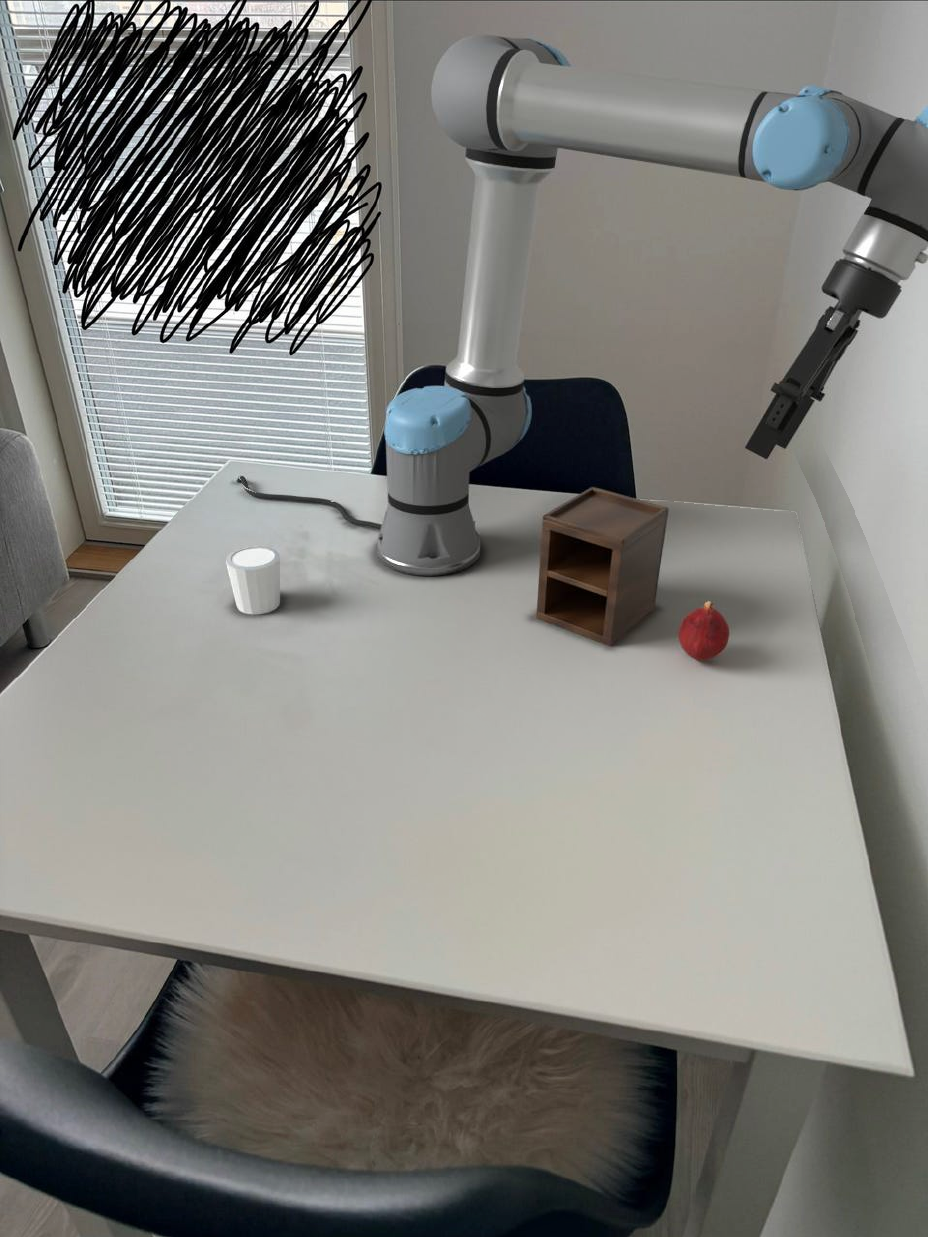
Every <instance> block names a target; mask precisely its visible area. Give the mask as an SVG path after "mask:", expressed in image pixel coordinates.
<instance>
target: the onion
mask: <svg viewBox="0 0 928 1237" xmlns="http://www.w3.org/2000/svg"><path fill="white" fill-rule="evenodd" d="M677 634H678V641H679V643H680V646H681V648H682V650H683V651H684V652H685V653H686V654H687V656H688V657H690V658H692V659H694V660H695V661H698V662H702V661H707V660H712V659H714V658H716V657H717V656H719V655H720V654H721V653H722V652H723V651H724V650H725V649H726V647H727V645H728V642H729V637H730V627H729V624H728V623H727V620H726V619H725V617H724V616H723V615H722V613H720V612H719V611H718V610H717V609H715V608H714V602H712V601H711V600H708V601H706V602H704V605H703V606H702V607H700V608H696V609H694V610H692V611H691V612H689V613H688V614H687V615H685V617H683V619H682V621H681V623H680V625H679V629H678V633H677Z"/></svg>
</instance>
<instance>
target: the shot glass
mask: <svg viewBox="0 0 928 1237" xmlns="http://www.w3.org/2000/svg"><path fill="white" fill-rule="evenodd" d="M225 564H226V568H227V572H228V576H229V580H230V584H231V589H232V593H233V597H234V601H235V605H236V608H237V610H238V611H239V612H241V613H243V614H247V615H252V616H253V615H263V614H268V613H270V612H273V611H274V610H276V609H277V608H278V607H279V606H280V603H281V554H280V553H279V552H278V550H277V549H274V548H272V547H271V546H270V547H268V546H262V545H254V546H246V547H240V548H238V549H236V550H233V551H232V552H230V553H229V554H227V555H226V559H225Z"/></svg>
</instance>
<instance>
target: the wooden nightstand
mask: <svg viewBox="0 0 928 1237" xmlns="http://www.w3.org/2000/svg"><path fill="white" fill-rule="evenodd" d="M669 509H670V507H667V506H663V505H660V504H656V503H653V502H648V501H646V500H642V499H638V498H635V497H631V496H627V495H624V494H620V493H616V492H613V491H609V490H606V489H603V488H598V487H595V486H591V487H589V488H588V489H586V490H584V491H583V492H581V493H579V494H577V495H576V496H574V497H572V498H571V499H569V500H567V501H565V502H564V503H562V504H560V505H559V506H557V507H555V508H554V509H552V510H550V511H549V512H547V513H545V514H543V515H542V525H541V540H540V555H539V556H540V558H539V569H538V571H539V572H538V587H537V599H536V600H537V602H536V614H535V615H536V617H535V618H536V619H537V620H540V621H543V622H545V623H548V624H550V625H554V626H556V627H559V628H561V629H564V630H566V631H569V632H571V633H574V634H577V635H579V636H582V637H585V638H588V639H590V640H593V641H595V642H598V643H601V644H603V645H606V646H609V647H612V645H614V644H615V643H616V642H617V641H618V640H619V639H621V638H622V637H623V636H624V635H625V634H627V633H628V632H629V631H630V630H631V629H632V628H633V627H634V626H636V625H637V624H638V623H639V622H641V621H642V620H643V619H644V618H645V617H647V615H649V614H650V613H651V612H652V611H653V610H655V605H656V600H657V599H656V598H657V594H658V593H657V592H658V585H659V579H660V578H659V577H660V571H661V565H662V558H663V551H664V550H663V549H664V544H665V536H666V530H667V523H668V517H669V516H668V515H669V511H670V510H669Z"/></svg>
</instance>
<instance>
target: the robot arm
mask: <svg viewBox="0 0 928 1237" xmlns="http://www.w3.org/2000/svg"><path fill="white" fill-rule="evenodd" d="M430 91H431V96H430V97H431V98H430V99H431V105H432V109H433V110H432V111H433V113H434V116H435V119H436V121H437V123H438V125H439V127H440V128H441V130H442V131H443V132H444V134H446V136H447V137H448V138H449V139H450V140H452V141H453V142H454V143H456V144H458V145H459V146H461V147H464V148H465V157H464V159H465V161H466V163H467V164H468V165H469V167H470V168H471V169H472V171H473V175H474V186H473V195H472V206H471V214H470V216H471V217H470V225H469V226H470V227H469V234H468V236H469V237H468V247H467V256H466V267H465V278H464V287H463V297H462V298H463V299H462V308H461V319H460V328H459V339H458V347H457V355H456V357H455V358H454V359H452V360H451V361H450V362H449V363H448V364H447V365H445V366H446V367H445V374H444V385H426V386H423V388H419V387H415V388H411V389H408V390H406V391H404V392H402V393H399V394H397V396H395V397H394V398H393V399H392V400H391V401H390V402H389V404H388V405H387V408H386V412H385V425H384V431H383V434H384V439H385V440H384V441H385V455H386V456H385V458H386V459H385V460H386V482H387V507H386V510H385V512H384V513H385V514H384V517H383V519H382V523H377V522H373V521H367V520H361V519H357V518H353V517H352V516H350V515H349V514H348V512H347V510H346V509H345V507H344V506H343V505H342V504H340V503H339V502H337V501H334V502H331V501H332V500H331V499H328V498H327V499H326V498H322V497H311V496H301V495H300V496H299V495H289V494H275V493H274V494H273V493H263V492H258V491H255V492H256V493H255V492H252V491H249V490H247V489H245V488H244V487H243V489H244V490H245V492H246V493H247V494H249V496H251V497H255V498H258V499H264V500H265V499H266V500H277V501H278V500H279V501H289V502H300V503H313V504H322V505H327V506H331V507H333V508H336V509H337V510H338V511H339V513H340V515H341V516H342V518H344V520H346V521H347V522H348V523H350V524H352V525H355V526H360V527H368V528H372V529H375V530H378V531H379V533H378V536H377V541H376V553H377V554H376V555H377V557H378V559H379V561H380V562H381V563H382V564H384V565H385V566H386V567H388V568H389V569H392V570H394V571H397V572H399V573H404V574H408V575H414V576H442V575H448V574H453V573H457V572H461V571H463V570H465V569H468V568H469V567H470V566H473V564H474V563H476V562H477V561H478V559H479V557H480V555H481V540H480V535H479V533H478V531H477V530H476V520H474V518H473V514H472V511H471V509H470V504H469V503H470V502H469V501H470V497H469V496H470V472H472V471H474V470H476V469H477V468H479V467H481V466H483V465H485V464H486V463H488V462H490V461H492V460H494V459H496V458H498V457H500V456H502V455H505V454H506V453H507V452H510V450H512V449H513V448H514V447H515V446H516V445H517V444H518V443H519V442H520V441H521V440H523V438H524V437H525V435H526V434H527V432H528V430H529V427H530V426H531V420H532V414H533V412H532V411H533V410H532V408H533V407H532V402H531V398H530V395H528V394H527V392H526V391H527V389H526V388H525V379H526V378H525V373H524V371H523V370H522V369H521V368H520V366H519V365H518V364H517V360H518V353H519V346H520V338H521V333H522V332H521V330H522V324H523V317H524V309H525V300H526V294H527V286H528V281H529V280H528V279H529V272H530V264H531V257H532V250H533V242H534V236H535V235H534V234H535V228H536V220H537V213H538V205H539V200H540V199H539V198H540V192H541V185H542V182H543V181H544V180H545V179H546V178H548V176H550V175H551V174H552V173H553V172H554V171H555V168H556V162H557V155H558V150H559V149H562V150H563V149H564V150H569V151H574V152H575V151H576V152H582V153H587V154H595V155H600V156H606V157H614V158H619V159H624V160H629V161H630V160H631V161H638V162H643V163H650V164H657V165H663V166H667V167H675V168H681V169H687V170H694V171H699V172H706V173H711V174H718V175H723V176H731V177H737V178H743V179H748V180H752V181H758V182H764V183H767V184H769V185H771V186H772V187H775V188H777V189H780V190H785V191H804V190H809V189H812V188H814V187H816V186H818V185H820V184H822V183H831V184H833V185H835V186H839V187H841V188H844V189H847V190H849V191H851V192H853V193H856V194H858V195H860V196H862V197H865V198H869V199H870V201H869V204H868V205H867V207H866V209H865V211H864V212H863V214H861V216H860V218H859V220H858V221H857V223H856V225H855V227H854V228H853V230H852V232H851V233H850V235H849V237H848V239H847V241H846V242H845V243H844V245H843V247H842V253H843V254H844V257H843V258H839V259H838V260H836V261H835V263H834V265H833V266H832V268H831V269H830V271H829V273H828V275H827V277H826V278H825V280H824V281H823V284H822V285H821V291H822V293H823V294H825V295H827V296H829V297H831V298H833V299H835V300H837V303H836V304H835V305H834V306H831V305H830V306H828V308H826V309H825V311H824V313H823V314H822V315H821V317H820V318H819V319H818V321H817V323H816V325H815V328H814V330H813V332H812V333H811V335H810V336H809V337H808V339H807V342H805V345H804V346H803V347H802V349H801V351H799V354H798V355H797V356H796V358H795V360H794V361H793V363H792V365H791V366H790V367H789V368H788V370H787V371H786V373H785V375H784V376H783V378H782V379H781V380H780V381H779V382H778V383H777V382H774V383H773V384H772V386H771V388H770V392H772V393H774V394H775V395H774V396H773V398H772V400H771V402H770V403H769V405H768V406H767V408H766V410H765V412H764V414H763V416H762V417H761V419H760V420H759V422H758V424H757V426H756V427H755V429H754V431H753V432H752V435H751V436H750V437H749V439H748V441H747V443H746V445H745V446H744V449H746V450H748V451H750V452H751V453H754V454H755V455H757V456H759V457H761V458H762V459H765V460H768V459H769V458H770V455H771V454H772V453H773V451H774V449H775V448H776V446H778V447H780V448H782V449H784V450H786V449H787V447H788V446H789V444H790V443H791V441H792V439H793V438H794V436H795V434H796V432H797V431H798V429H799V427H800V426H801V425H802V423H803V421H804V420H805V418H806V416H807V415H808V413H809V411H810V409H812V408H811V407H813V404H814V403H815V401H818V402H822V400H823V399H824V397H825V396H826V393H824V392H823V391H824V389H825V385H826V384H827V382H828V380H829V378H830V376H831V375H832V373H833V371H834V370H835V367H836V365H837V364H838V362H839V361H840V360H841V358H842V357H843V355H845V353H846V351H847V349H848V347H849V346H850V345H851V344H852V342H853V341H854V340H855V338H856V336H857V335H858V333H859V330H858V329H859V327H860V325H861V319H859V318H860V316H861V314H862V312H863V313H866V314H868V315H869V316H872V317H875V318H877V319H884V318H885V317H887V316H888V315H889V312H890V310H891V309H892V307H893V305H894V304H895V303H896V301H897V299H898V298H899V296H900V294H901V293H902V291H903V290H902V286H901V285H900V284H899V283H900V282H901V281H907V280H909V278H910V277H911V276H912V274H913V272H914V270H915V269H916V267H917V266H916V262H917V263H919V264H921V265H924V264H926V263H927V262H928V254H927V253H925V251H926V250H927V249H928V105H926V106H925V107H924V108H923V109H922V111H921V113H920V114H919V115H918V116H916V118H914V120H911V119H908V118H903V117H897V116H895V115H892V114H891V113H888V112H886V111H883V110H882V109H879V108H876V107H873V106H872V105H870V104H867V103H864V102H862V101H859V100H857V99H855V98H852V97H850V96H848V95H844V94H843V93H842V92H841V91H838V90H833V89H830V88H824V87H822V86H818V85H816V84H810V85H806V86H804V87H802V89H801V90H800V91H799V92H798V94H797V93H788V92H787V93H786V92H779V91H766V90H761V89H754V88H745V87H739V86H731V85H722V84H714V83H713V84H712V83H705V82H698V81H697V82H696V81H688V80H680V79H672V78H666V77H665V78H664V77H657V76H649V75H640V74H632V73H625V72H615V71H608V70H599V69H591V68H583V67H576V66H572V65H571V64H570V61H568V58H567V57H566V56H565V55H564V54H563V53H562V52H561V51H560V50H559V49H557V48H556V47H554V46H552V45H550V44H547V43H546V42H543V41H541V40H535V39H532V38H531V37H527V38H523V37H522V38H521V37H508V36H498V35H493V34H482V33H481V34H473V35H470V36H465V37H464V38H462V39H460V40H457V41H456V42H455V43H453V44H452V45H451V46H449V48H447V50H446V51H445V53H443V55H442V56H441V58H440V60H439V62H438V63H437V65H436V67H435V70H434V73H433V76H432V82H431V90H430ZM239 477H240V479H241V480H240V479H239ZM236 483H241V485H242V484H243V485H244V486H245V487H246V488H248V489H249V488H250V486H249V484H248V482H247V479H246V477H245V476H243V475H240V476H238V478H237V479H236ZM243 485H242V486H243ZM248 486H249V487H248ZM257 492H258V493H257Z"/></svg>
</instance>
